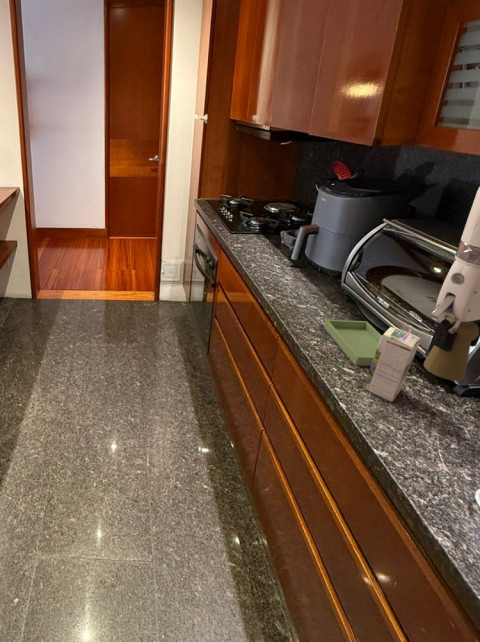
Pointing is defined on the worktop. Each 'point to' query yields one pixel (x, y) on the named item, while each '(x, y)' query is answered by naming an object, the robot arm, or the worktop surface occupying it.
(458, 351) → the cork
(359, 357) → the spice tray
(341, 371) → the worktop surface
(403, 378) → the syrup box
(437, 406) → the worktop surface
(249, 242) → the worktop surface
